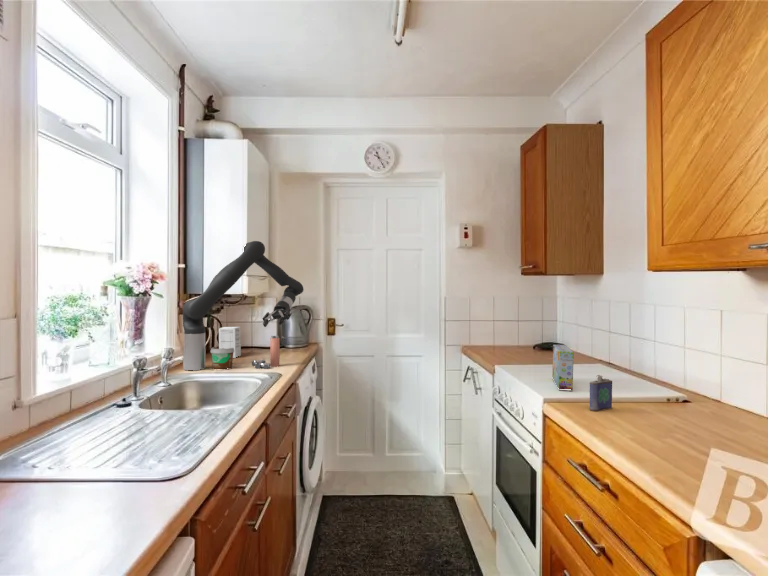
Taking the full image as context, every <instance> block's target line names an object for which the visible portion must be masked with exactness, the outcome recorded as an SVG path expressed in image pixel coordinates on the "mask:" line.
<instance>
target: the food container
mask: <svg viewBox="0 0 768 576" xmlns="http://www.w3.org/2000/svg"><path fill="white" fill-rule="evenodd" d="M209 352H210V354H211V360H212V361H211V362H212V369H213V368H214V369H213V370H215V369H225V370H228V369H227V368H231V369H233V360H234V358H233V352H234V348H229V349H224V348H222V349H219V348H215V346H213V347H211V348H210V351H209Z"/></svg>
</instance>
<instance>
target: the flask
mask: <svg viewBox="0 0 768 576" xmlns="http://www.w3.org/2000/svg"><path fill="white" fill-rule="evenodd" d="M596 377H597V379H596V380H593V381H589V410H590V411H591V412H599V411H605V410H610V409H613V405H612V403H613V402H612V401H613V380H611V379H608V378H603V377H604V376H602V375H600V374H598V375H596Z"/></svg>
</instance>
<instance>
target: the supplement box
mask: <svg viewBox="0 0 768 576" xmlns="http://www.w3.org/2000/svg"><path fill="white" fill-rule="evenodd" d="M241 345H242V342H241V326H223V327H220V328H219V329H218V349H222V348H224V349H229V348H234V352H233V359H237V358H238V356H239V357H241V356H242V353H241V352H242V351H241V350H242V349H241V348H242V347H241ZM236 357H237V358H236Z"/></svg>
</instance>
